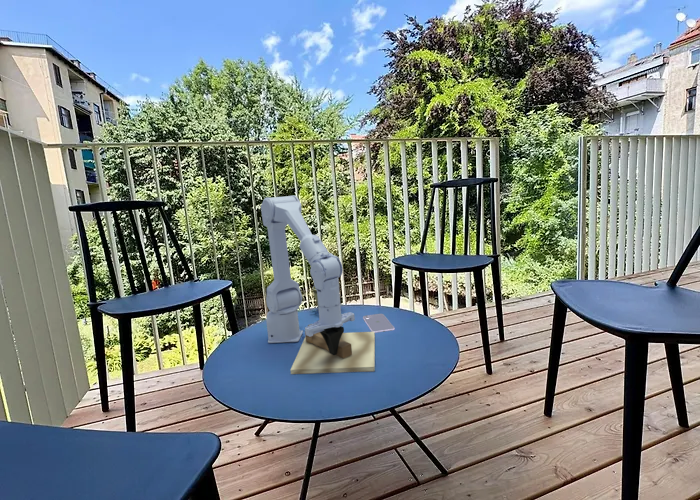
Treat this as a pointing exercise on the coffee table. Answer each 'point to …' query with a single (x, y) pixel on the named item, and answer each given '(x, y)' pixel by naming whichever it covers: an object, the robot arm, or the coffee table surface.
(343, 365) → the base plate
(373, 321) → the mobile phone
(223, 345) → the coffee table surface
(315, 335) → the link
